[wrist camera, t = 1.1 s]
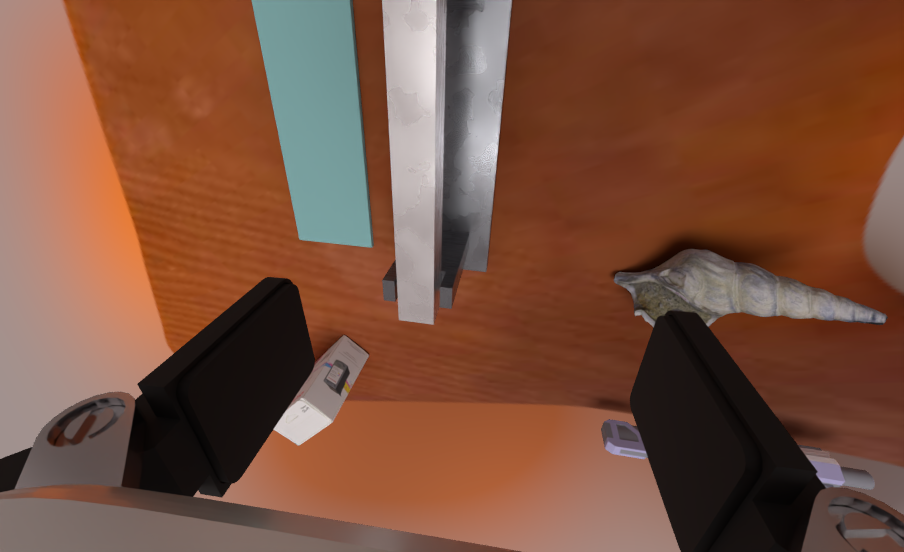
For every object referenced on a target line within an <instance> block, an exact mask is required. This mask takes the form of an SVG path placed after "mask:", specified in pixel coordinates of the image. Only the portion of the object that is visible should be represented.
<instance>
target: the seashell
mask: <svg viewBox="0 0 904 552" xmlns="http://www.w3.org/2000/svg"><path fill="white" fill-rule="evenodd" d="M614 282H615V283H616V284H618V285H621V286H622V287H624V288H626V289H627V290H628V291H629V292H630V293H631V295H632V298H633V301H634V313H635V316H637V315H642V316H643V318H644V319H645V321H647V322H649V323H650V324H651V325H652V326H653V327H654V325H655V322H656V320H657V318H658V317H659V316H664V315H665V314H666V312H667V311H670V310H672V311H685V312H695V313H697V314H698V315H699V316H700V317H701V318H702V319H703V321H704V322H705V323H706V325H707V326H708V327H709V326H710V325H711V324H712V323H713V322H714V321H715V320H716V319H717V318H719V317H721V316H724V315H726V314H729V313H738V312H744V313H748V314H752V315H756V316H761V317H769V316H779V315H783V316H787V317H790V318H797V319H803V318H816V319H821V320H828V321H829V320H840V321H845V322H861V323H870V324H876V325H883V324H884V323H885V321H886V319H887V318H888V317H887V316H886V315H885V314H883V313H881V312H879V311H876V310H874V309H872V308H869V307H867V306H864V305H861V304H857V303H855V302H853V301H851V300H849V299H848V298H845V297H841V296H836V295H833V294H831V293H829V292H828V291H826V290H823V289H819V288H814V287H810V286H807V285H805V284H803V283H801V282H799V281H797V280H795V279H791V278H787V277H782V276H775V275H774V274H773V273H771V272H768V271H767V270H765V269H763V268H761V267H759V266H757V265H755V264H751V263H741V262H734V261H732V260H729V259H726V258H724V257H722V256H720V255H718V254H716V253H714V252H712V251H709V250H697V249H687V250H683V251H681V252H679V253H678V254H676V255H675V256H673V257H672V258H670V259H669V260H668V261H666V262H665V263H663V264H661V265H660V266H658V267H656V268H653V269H650V270H646V271H643V272H637V273H625V272H618V273H617V274H615V278H614Z"/></svg>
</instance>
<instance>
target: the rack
mask: <svg viewBox="0 0 904 552" xmlns="http://www.w3.org/2000/svg"><path fill="white" fill-rule="evenodd" d="M512 1H513V0H447V11H446V59H445V108H444V156H443V205H442V253H441V286H440V307H442V308H450V309H452V305H453V302H454V298H455V295H456V292H457V288H458V285H459V281H460V278H461V274H462V271H463V269H465V270H474V271H483V272H486V270H487V264H488V253H489V243H490V232H491V222H492V211H493V201H494V190H495V180H496V169H497V159H498V148H499V138H500V127H501V117H502V106H503V96H504V85H505V75H506V64H507V54H508V43H509V33H510V22H511V12H512ZM382 281H383V294H384V300H387V301H396V299H397V298H398V292H397V273H396V260H395V261H394V263H393V264H392V266H391V267H390V269H389V270H388V272H387V274H386V275H385V277H384V278H383V280H382Z"/></svg>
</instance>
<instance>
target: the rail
mask: <svg viewBox="0 0 904 552" xmlns="http://www.w3.org/2000/svg"><path fill="white" fill-rule="evenodd" d="M382 6H383V25H384V44H385V63H386V82H387V102H388V121H389V140H390V159H391V178H392V197H393V216H394V235H395V254H396V273H397V292H398V311H399V320H403V321H411V322H418V323H426V324H433V325H434V322H435V319H436V316H437V313H438V310H439V307H440V286H441V253H442V205H443V156H444V108H445V59H446V11H447V0H382Z"/></svg>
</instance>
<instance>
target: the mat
mask: <svg viewBox="0 0 904 552" xmlns="http://www.w3.org/2000/svg"><path fill="white" fill-rule="evenodd" d="M252 5H253V10H254V15H255V20H256V24H257V29H258V34H259V39H260V44H261V49H262V54H263V59H264V64H265V69H266V74H267V79H268V84H269V89H270V94H271V99H272V104H273V109H274V114H275V119H276V124H277V129H278V134H279V139H280V144H281V149H282V154H283V159H284V164H285V169H286V174H287V179H288V184H289V189H290V194H291V199H292V204H293V209H294V214H295V219H296V224H297V229H298V234H299V239H300V240H307V241H316V242H326V243H335V244H344V245H353V246H362V247H371V248H372V247H373V245H374V244H373V233H372V221H371V209H370V198H369V186H368V175H367V163H366V151H365V140H364V128H363V117H362V105H361V93H360V82H359V70H358V59H357V47H356V35H355V24H354V12H353V1H352V0H252Z"/></svg>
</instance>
